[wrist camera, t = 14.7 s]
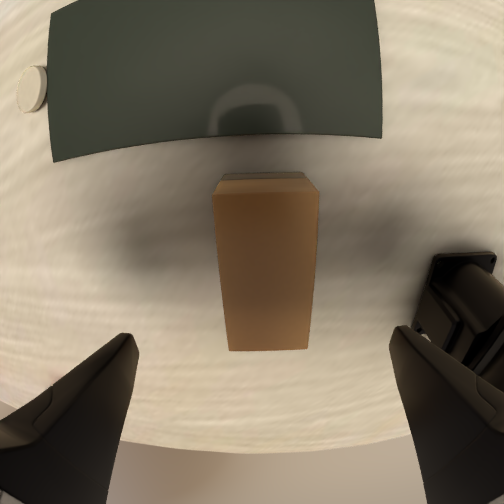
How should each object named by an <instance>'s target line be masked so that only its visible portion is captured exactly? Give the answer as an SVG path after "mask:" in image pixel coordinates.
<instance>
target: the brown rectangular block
mask: <svg viewBox="0 0 504 504" xmlns="http://www.w3.org/2000/svg"><path fill="white" fill-rule="evenodd" d="M212 202H213V213H214V224H215V234H216V244H217V254H218V264H219V273H220V282H221V291H222V300H223V308H224V316H225V324H226V332H227V340H228V347H229V351H275V350H298V349H307V348H308V341H309V332H310V323H311V313H312V302H313V291H314V279H315V266H316V251H317V234H318V213H319V191H318V190H317V189H316V187H315V186H314V185H313V184H312V183H311V181H310V180H309V179H308V178H307V177H306V176H305V174H304V173H302V172H281V173H245V174H225V175H224V176H223V178H222V179H221V181H220V182H219V184H218V186H217V187H216V189H215V191H214V192H213V194H212Z"/></svg>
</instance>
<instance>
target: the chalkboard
mask: <svg viewBox="0 0 504 504" xmlns="http://www.w3.org/2000/svg"><path fill="white" fill-rule="evenodd" d="M47 103H48V120H49V131H50V141H51V150H52V157H53V163H55V162H59V161H63V160H67V159H71V158H75V157H80V156H84V155H89V154H94V153H98V152H103V151H109V150H114V149H120V148H125V147H131V146H138V145H144V144H151V143H158V142H166V141H174V140H183V139H193V138H204V137H217V136H233V135H256V134H318V135H341V136H356V137H369V138H380V139H381V138H382V75H381V58H380V45H379V35H378V26H377V18H376V10H375V3H374V0H78V1H76V2H73V3H71V4H69V5H67V6H65V7H63V8H61V9H59V10H57V11H55V12H53V13H51V19H50V28H49V39H48V55H47Z"/></svg>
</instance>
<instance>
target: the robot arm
mask: <svg viewBox="0 0 504 504" xmlns="http://www.w3.org/2000/svg"><path fill="white" fill-rule="evenodd" d="M496 260H497V256H496V254H494V253H493V252H477V253H453V254H438V255H436V256H434V258H433V259H432V262H431V266H430V270H429V274H428V277H427V281H426V285H425V288H424V291H423V295H422V298H421V301H420V304H419V307H418V310H417V313H416V317H415V320H414V322H413V325H412V329H411V328H410V327H408V326H407V325H402V326H397V327H395V329H394V331H393V334H392V337H391V340H390V343H389V351H390V355H391V360H392V364H393V369H394V373H395V378H396V383H397V387H398V390H399V393H400V396H401V400H402V403H403V406H404V409H405V413H406V416H407V420H408V423H409V427H410V430H411V434H412V437H413V441H414V445H415V449H416V453H417V457H418V461H419V465H420V470H421V474H422V479H423V482H424V489H425V494H426V499H427V504H504V286H503V285H502V284H501V283H500V282H499V281H498V280H497V279H496V278H495V277H494V276H493V275H492V272H493V269H494V266H495V263H496ZM439 261H440V263H439V264H438V262H439ZM421 334H427V336H428V338H429V339H430V341H431V342H430V341H429V340H427V339H426V338H424V337H423V336H422V335H421ZM138 359H139V350H138V347H137V345H136V342H135V340H134V337H133V335H132V334H130V333H120V334H118V335H117V336H116V337H115V338H113V339H112V340H111V341H109V342H108V343H107V344H105V345H104V346H103V347H101V348H100V349H99V350H97V351H96V352H95V353H93V354H92V355H91V356H89V357H88V358H87V359H86V360H84V361H83V362H82V363H80V364H79V365H78V366H76V367H75V368H74V369H73V370H71V371H70V372H69V373H67V374H66V375H65V376H63V377H62V378H61V379H60V380H58V381H57V382H56V383H54V384H53V386H50V387H49V388H48V389H47V390H45V391H44V392H43V393H41V394H40V395H39V396H37V397H36V398H34V399H33V400H32V401H30V402H29V403H27V404H26V405H24V406H22V407H21V408H19V409H18V410H16V411H15V412H13V413H11V414H10V415H8V416H7V417H5V418H3V419H2V420H0V504H106V500H107V495H108V489H109V484H110V480H111V475H112V470H113V466H114V461H115V457H116V453H117V449H118V445H119V441H120V437H121V433H122V429H123V425H124V421H125V418H126V414H127V410H128V407H129V403H130V400H131V396H132V392H133V387H134V381H135V375H136V370H137V364H138Z"/></svg>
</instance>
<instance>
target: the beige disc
mask: <svg viewBox="0 0 504 504" xmlns="http://www.w3.org/2000/svg"><path fill="white" fill-rule="evenodd" d="M46 90H47V74H46V71H45V69H44V68H43V67H41V66H31V67H29V68H27V69H26V70H25V71H24V73H23V74H22V76H21V78H20V80H19V83H18V87H17V104H18V107H19V109H20V110H21V111H22V112H23V113H30V112H34V111H36V110H37V109H38V108H39V107H40V106H41V104H42V102H43V100H44V97H45V94H46Z"/></svg>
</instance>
